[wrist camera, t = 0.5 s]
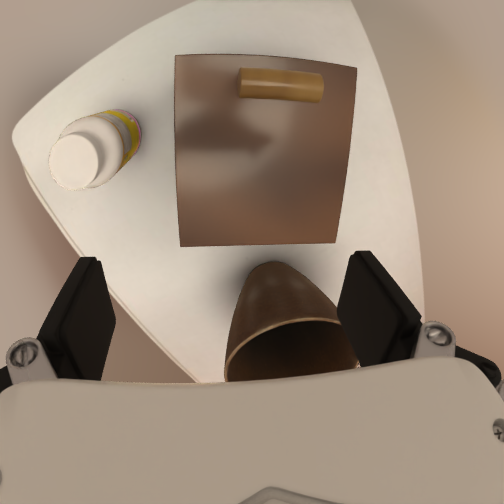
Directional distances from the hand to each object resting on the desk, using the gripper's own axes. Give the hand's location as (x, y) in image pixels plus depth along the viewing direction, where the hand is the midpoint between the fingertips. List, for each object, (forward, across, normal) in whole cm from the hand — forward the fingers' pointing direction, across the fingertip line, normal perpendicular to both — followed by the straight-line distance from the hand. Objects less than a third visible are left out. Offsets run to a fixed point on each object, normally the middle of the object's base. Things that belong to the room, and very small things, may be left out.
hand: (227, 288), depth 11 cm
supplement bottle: (+27, +12, -2) cm, 29 cm away
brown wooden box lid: (+15, -4, -2) cm, 15 cm away
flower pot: (+26, -8, +19) cm, 34 cm away
